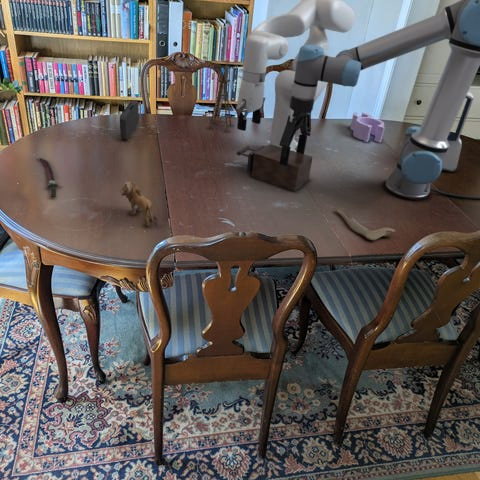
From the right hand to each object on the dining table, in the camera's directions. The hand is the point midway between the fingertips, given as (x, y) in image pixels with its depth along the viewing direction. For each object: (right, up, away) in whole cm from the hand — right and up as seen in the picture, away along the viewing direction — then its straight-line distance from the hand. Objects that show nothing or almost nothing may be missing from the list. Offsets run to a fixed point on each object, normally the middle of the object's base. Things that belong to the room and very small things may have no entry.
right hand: (292, 158), depth 161 cm
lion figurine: (-47, -21, -25) cm, 58 cm away
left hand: (-15, +12, +3) cm, 19 cm away
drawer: (-9, -3, +8) cm, 12 cm away
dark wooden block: (-4, -6, +6) cm, 9 cm away
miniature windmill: (-27, +22, +45) cm, 57 cm away
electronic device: (+63, +2, +29) cm, 69 cm away
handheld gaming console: (-63, +17, +31) cm, 72 cm away
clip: (+40, +21, +55) cm, 71 cm away
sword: (-80, -8, -10) cm, 81 cm away
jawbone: (+20, -23, -17) cm, 35 cm away
